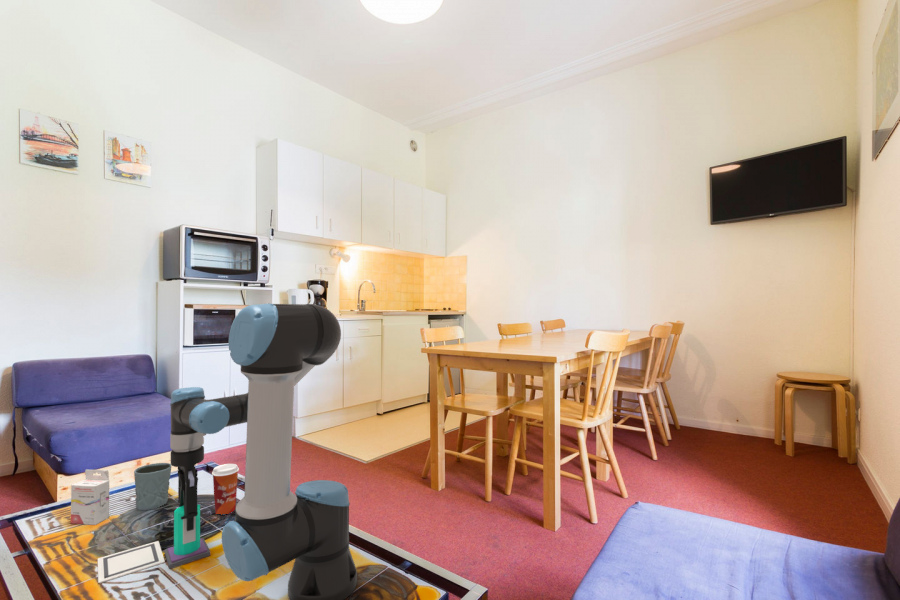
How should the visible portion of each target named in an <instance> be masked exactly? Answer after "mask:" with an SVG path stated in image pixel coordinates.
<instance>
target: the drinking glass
mask: <svg viewBox="0 0 900 600" xmlns="http://www.w3.org/2000/svg"><path fill="white" fill-rule="evenodd" d="M172 467H173V466H172V465H171V463H169V462H157V463H151V464H150V463H149V464H146V465H142V466H140V467H138V468H135V470H134V472H133V475H134V485H135V504H136V505H135V508H136V509H137V510H138V511H150V509H151V510H155V509H158V508H160V506H161V507H163V506H164V504H165V505H166V504H167V503H168V500H169V490H170V479H171V473H172ZM162 505H163V506H162ZM157 507H158V508H157ZM154 508H155V509H154Z"/></svg>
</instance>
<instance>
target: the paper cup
mask: <svg viewBox="0 0 900 600" xmlns="http://www.w3.org/2000/svg"><path fill="white" fill-rule="evenodd" d="M239 471H240V468H239V466H238V465H237V464H236V463H225V464H220V465H217V466H215V467H214V468H213V470H212V472H211V475H212V478H213V479H212V480H213V482H212V483H213V496H214V497H213V499H214V500H213V501H214V510H215V511H214V512H215V515H216V514H221V515H222V514H229V513H231V512H233V511H234V510H235V511H236V505H237V495H238V494H237V493H238V492H237V491H238V490H237V489H238V474H239ZM235 511H234V512H235ZM234 512H233V513H234ZM231 514H232V513H231ZM229 515H230V514H229Z"/></svg>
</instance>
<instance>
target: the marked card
mask: <svg viewBox="0 0 900 600" xmlns="http://www.w3.org/2000/svg"><path fill="white" fill-rule="evenodd" d="M165 563H166V562H165V556H164V555H163V551H162V547H161V545H160V541H159V540H156V541H154V542H150V543H147V544H143V545H139V546H135V547H132V548H129V549H125V550H122V551H119V552H116V553H112V554H109V555H106V556H101V557H98V558H97V583H100V584H103V583H106V582H109V581H112V580H115V579H118V578H121V577H124V576H128V575H131V574H134V573H137V572H140V571H143V570H147V569H149V568H153V567H156V566H159V565H161V564H165Z"/></svg>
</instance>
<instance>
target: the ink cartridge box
mask: <svg viewBox="0 0 900 600" xmlns="http://www.w3.org/2000/svg"><path fill="white" fill-rule="evenodd" d="M96 473H97V474H100V475H97V474H96ZM109 475H110V474H109V471H108V470H104V469H85V471H84V476H85V479H82V480H80V481H78V482H75V483H72V484H71V486H70V489H71V490H70V492H71V493H70V524H74V525H91V526H97V525H98V524H99V523H101V522H103V521H105V520H107V519H109V518H110V478H109V477H110V476H109Z"/></svg>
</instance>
